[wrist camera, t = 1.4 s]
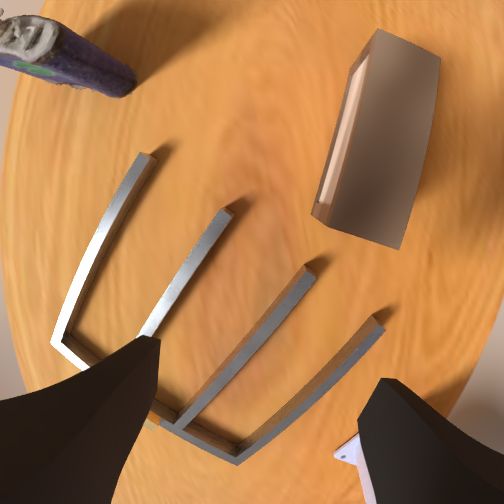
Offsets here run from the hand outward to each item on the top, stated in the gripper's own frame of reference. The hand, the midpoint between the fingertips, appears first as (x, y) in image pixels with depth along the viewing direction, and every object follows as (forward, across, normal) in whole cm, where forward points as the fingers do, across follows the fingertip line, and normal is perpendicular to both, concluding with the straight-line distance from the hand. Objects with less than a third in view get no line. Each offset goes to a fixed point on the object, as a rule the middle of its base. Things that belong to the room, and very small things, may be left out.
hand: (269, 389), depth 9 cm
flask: (+12, +16, -11) cm, 23 cm away
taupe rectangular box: (+11, -4, -9) cm, 15 cm away
